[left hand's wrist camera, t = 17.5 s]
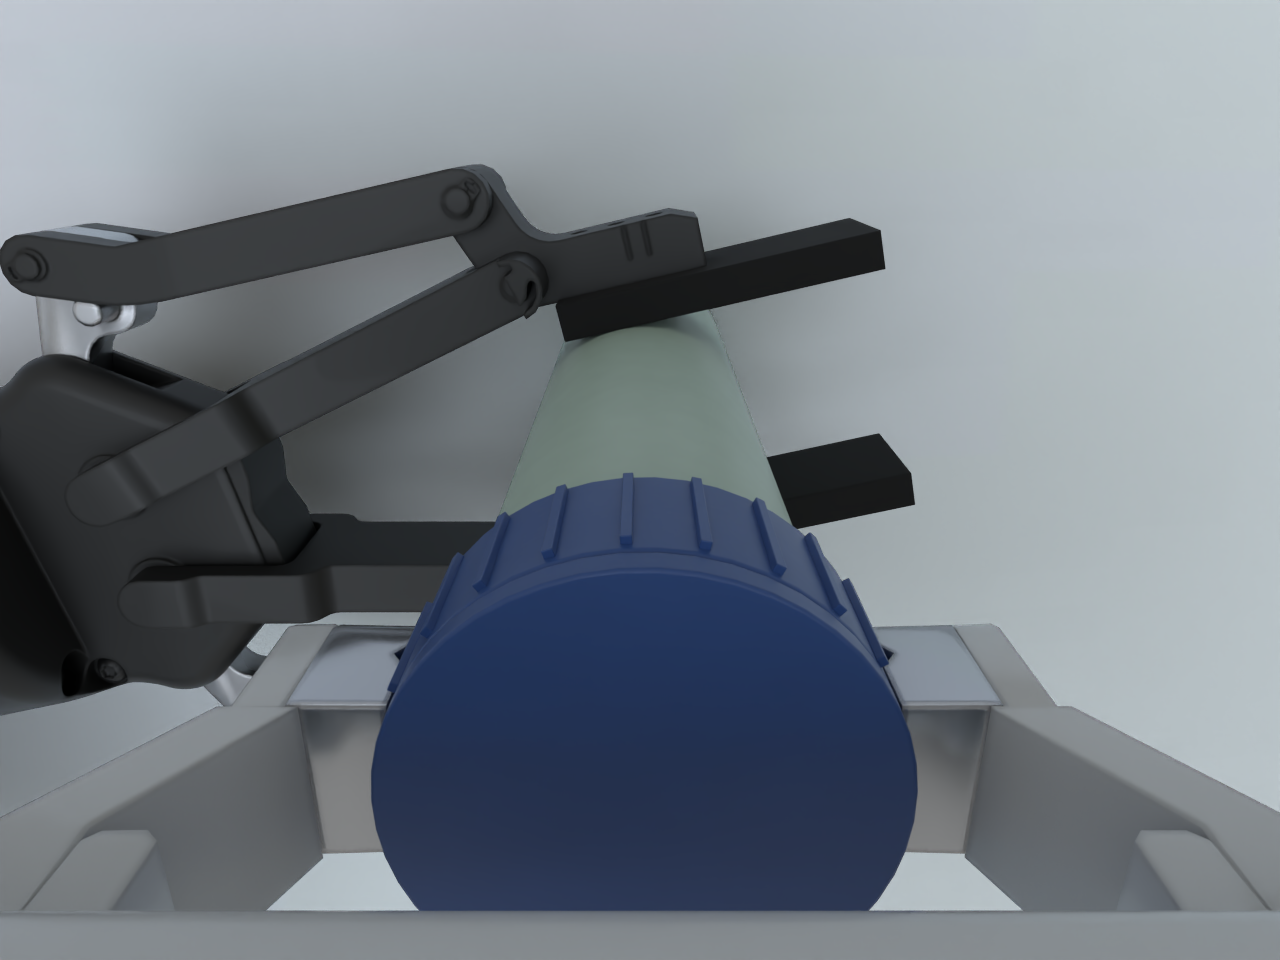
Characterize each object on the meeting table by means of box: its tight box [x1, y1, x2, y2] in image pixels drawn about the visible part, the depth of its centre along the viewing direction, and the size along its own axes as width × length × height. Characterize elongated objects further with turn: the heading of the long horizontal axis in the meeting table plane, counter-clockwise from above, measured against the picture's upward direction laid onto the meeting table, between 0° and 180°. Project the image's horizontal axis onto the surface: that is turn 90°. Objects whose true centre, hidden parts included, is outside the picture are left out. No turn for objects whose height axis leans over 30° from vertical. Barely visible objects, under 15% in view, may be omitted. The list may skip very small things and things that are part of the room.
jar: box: [499, 309, 792, 525], centre depth 17 cm, size 4×4×18 cm
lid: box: [371, 473, 918, 911], centre depth 9 cm, size 5×5×2 cm
